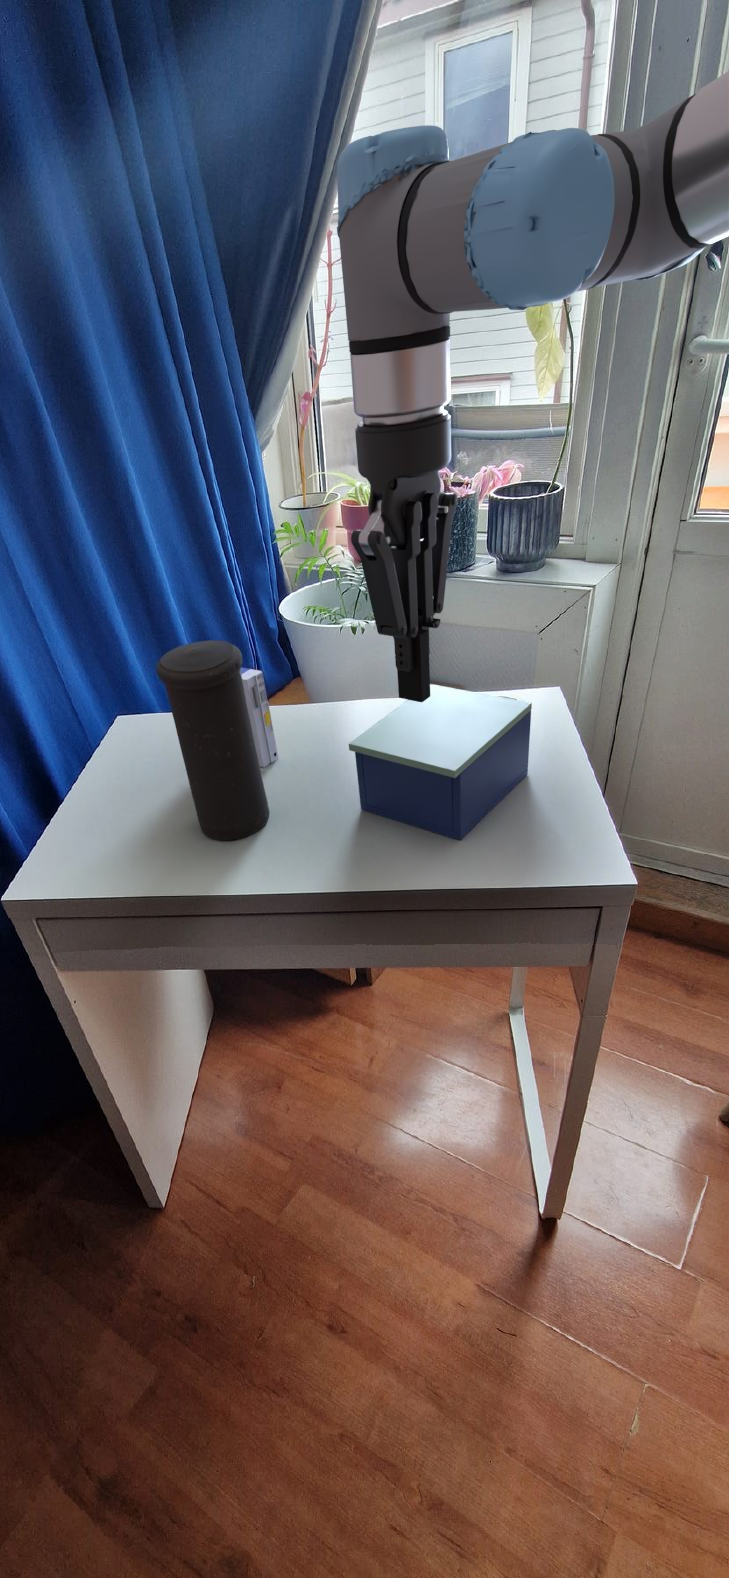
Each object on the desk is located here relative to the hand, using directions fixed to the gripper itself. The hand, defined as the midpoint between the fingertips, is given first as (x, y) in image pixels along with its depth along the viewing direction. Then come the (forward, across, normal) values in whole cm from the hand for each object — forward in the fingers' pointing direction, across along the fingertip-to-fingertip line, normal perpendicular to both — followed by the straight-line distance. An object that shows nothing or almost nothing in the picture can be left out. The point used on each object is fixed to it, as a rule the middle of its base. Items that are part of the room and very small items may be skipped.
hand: (414, 696), depth 74 cm
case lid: (+6, -5, 0) cm, 7 cm away
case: (+14, -5, 0) cm, 14 cm away
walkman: (+14, -1, -27) cm, 30 cm away
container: (+14, +11, -18) cm, 25 cm away
